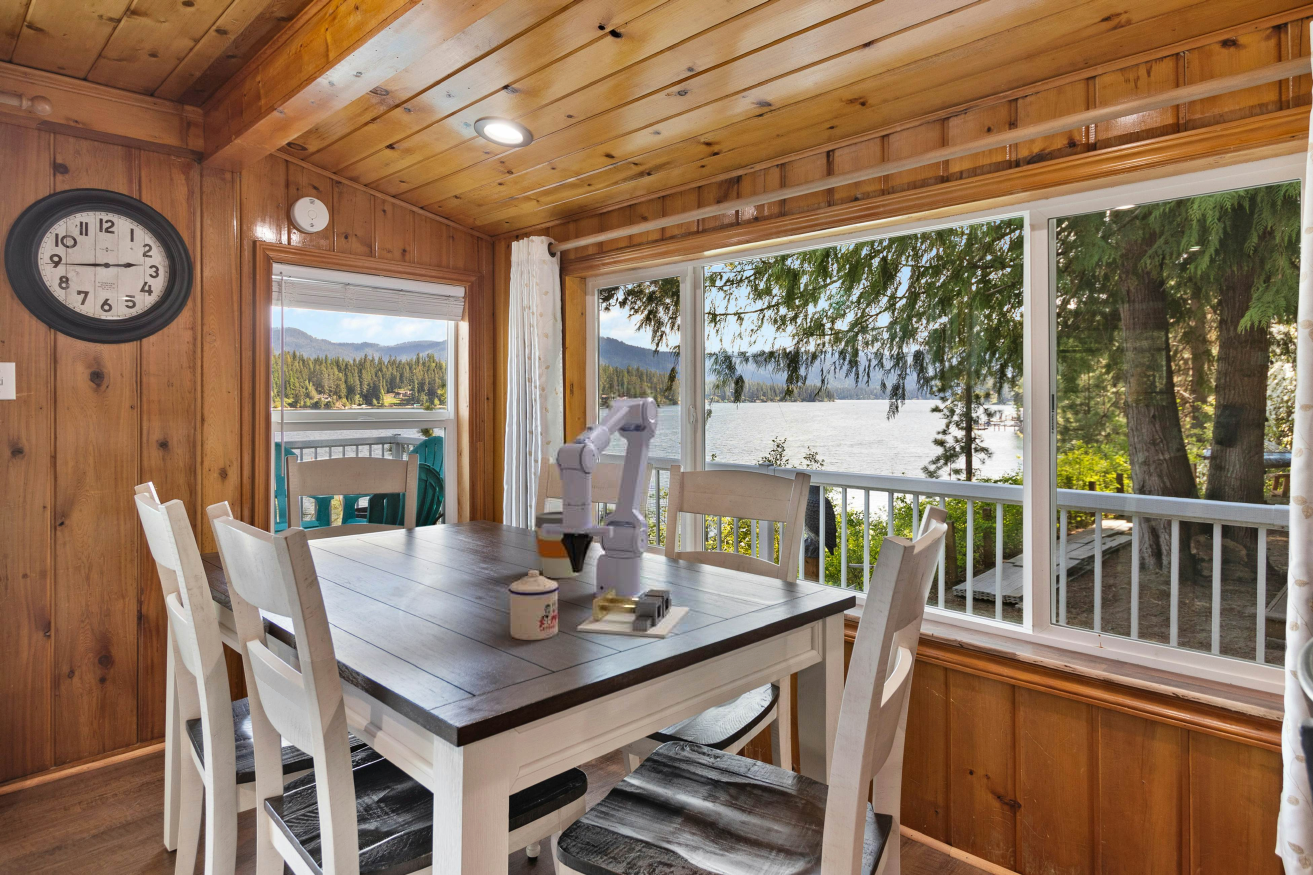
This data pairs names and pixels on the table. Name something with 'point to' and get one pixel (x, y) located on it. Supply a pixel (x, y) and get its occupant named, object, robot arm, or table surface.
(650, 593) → the dark grey notched block
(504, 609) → the table surface
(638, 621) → the chain end near
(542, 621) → the teacup with lid
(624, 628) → the mat
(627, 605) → the gold metal bracket
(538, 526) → the reusable coffee cup
